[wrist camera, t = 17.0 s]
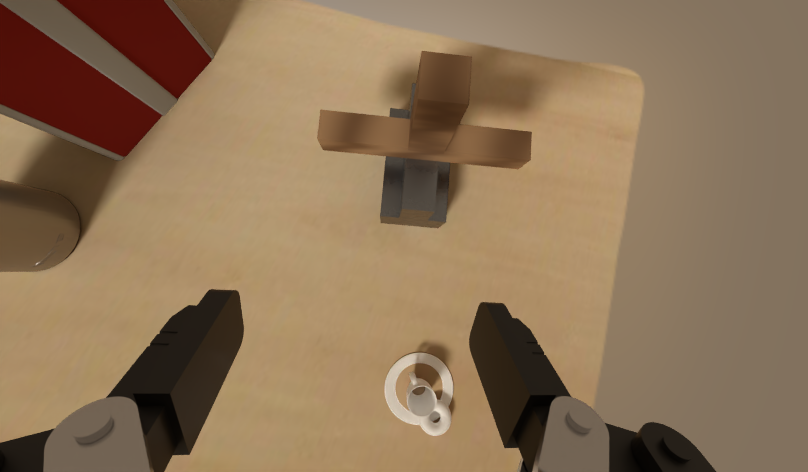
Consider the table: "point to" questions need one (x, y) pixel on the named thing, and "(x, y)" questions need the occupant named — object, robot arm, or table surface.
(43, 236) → the robot arm
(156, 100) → the red-striped tombstone block
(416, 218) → the gray metal t-shaped block
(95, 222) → the table surface
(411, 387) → the teacup and saucer
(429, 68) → the wooden t-shaped block
